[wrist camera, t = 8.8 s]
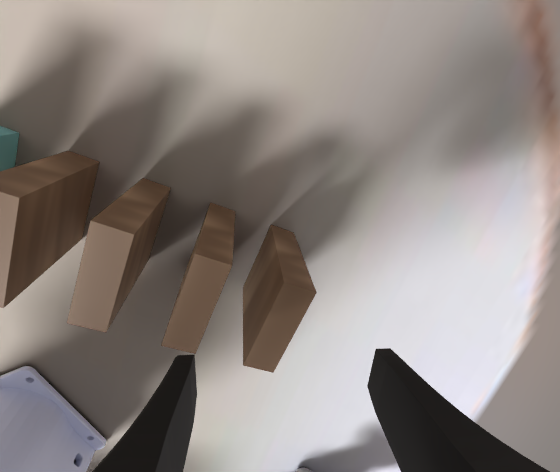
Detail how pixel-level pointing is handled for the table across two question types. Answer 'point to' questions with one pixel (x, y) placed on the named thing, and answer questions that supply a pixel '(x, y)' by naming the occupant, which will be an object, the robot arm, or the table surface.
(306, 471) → the gray elephant figurine
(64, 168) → the domino
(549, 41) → the table surface
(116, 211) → the domino
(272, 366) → the domino
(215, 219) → the domino
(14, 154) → the teal domino
